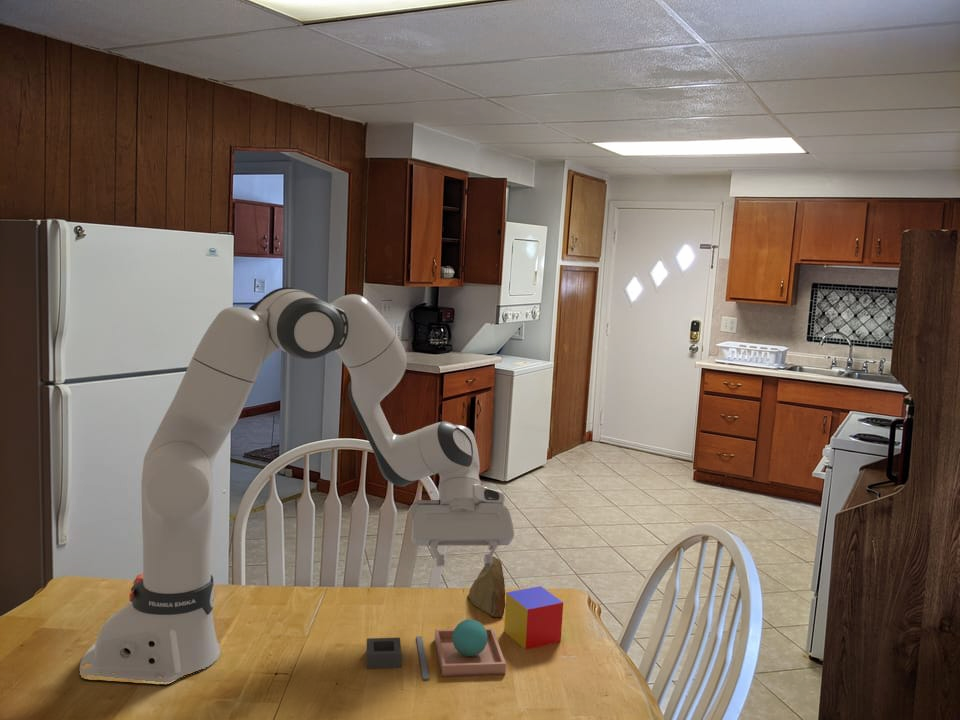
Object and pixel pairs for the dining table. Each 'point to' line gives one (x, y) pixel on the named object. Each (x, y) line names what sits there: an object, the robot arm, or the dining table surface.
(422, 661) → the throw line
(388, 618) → the dining table surface
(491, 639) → the tray
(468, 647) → the ball
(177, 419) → the robot arm
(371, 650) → the grey square frame
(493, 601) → the rock
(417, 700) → the dining table surface
